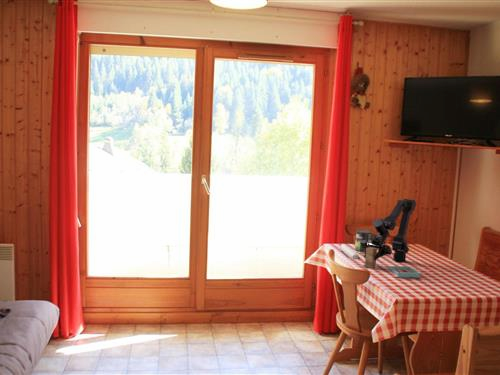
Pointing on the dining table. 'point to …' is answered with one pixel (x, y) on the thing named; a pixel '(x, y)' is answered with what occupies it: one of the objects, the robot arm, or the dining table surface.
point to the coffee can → (362, 236)
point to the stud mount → (370, 268)
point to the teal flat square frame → (405, 275)
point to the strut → (370, 257)
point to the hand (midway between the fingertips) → (369, 258)
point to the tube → (349, 251)
